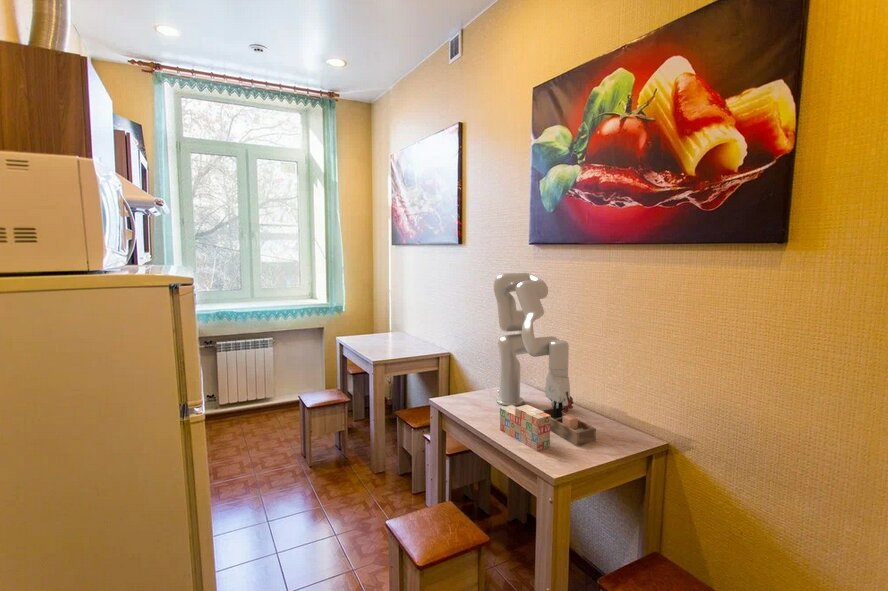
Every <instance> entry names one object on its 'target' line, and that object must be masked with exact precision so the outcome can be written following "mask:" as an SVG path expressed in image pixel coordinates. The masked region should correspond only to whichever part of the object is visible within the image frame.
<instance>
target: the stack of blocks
mask: <svg viewBox="0 0 888 591" xmlns="http://www.w3.org/2000/svg"><path fill="white" fill-rule="evenodd" d="M541 410H542V409H538V408H536V407H533V406H532V405H529V404H525V405H521V406H520V405H519V406H513V405H510V406H506V405H505V406H502V407H500V408H499V422H500V425H499V430H500V431H501V432H503V433H505V434H506V435H508V436H510V438H513V439H515V440H517V441H518V442H520V443H522V444H524V445H526V446H527V447H529V448H531V449H533V450H534V451H535V452H540V451H542V450H546V449H548V448H550V442H551V435H550V434H551V431H550V419H551V415H549V414H547V413H544V412H543V411H541Z"/></svg>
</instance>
